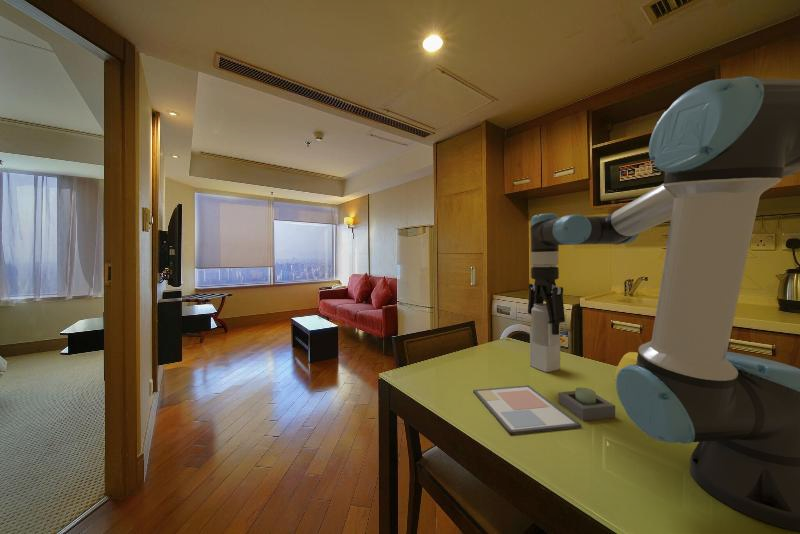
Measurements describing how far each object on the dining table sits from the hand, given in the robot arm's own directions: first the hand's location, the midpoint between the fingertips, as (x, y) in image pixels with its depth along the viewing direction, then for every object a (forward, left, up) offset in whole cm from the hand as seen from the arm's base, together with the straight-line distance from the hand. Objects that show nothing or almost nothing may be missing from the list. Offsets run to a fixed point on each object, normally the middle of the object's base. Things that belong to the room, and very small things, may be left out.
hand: (545, 341), depth 90 cm
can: (0, 0, -1) cm, 1 cm away
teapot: (-9, -25, -15) cm, 30 cm away
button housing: (-13, -3, -15) cm, 20 cm away
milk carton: (+16, -11, -15) cm, 25 cm away
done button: (-13, -3, -13) cm, 19 cm away
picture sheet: (-9, +13, -15) cm, 22 cm away
